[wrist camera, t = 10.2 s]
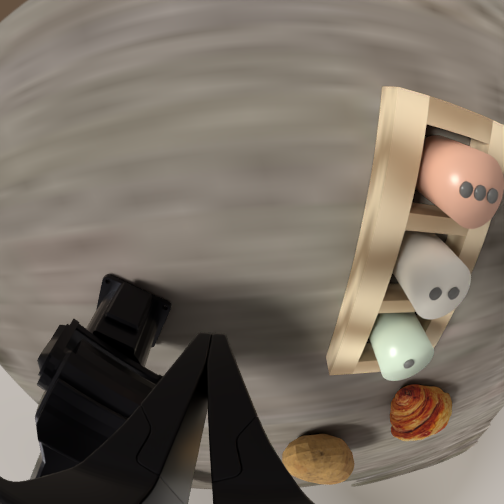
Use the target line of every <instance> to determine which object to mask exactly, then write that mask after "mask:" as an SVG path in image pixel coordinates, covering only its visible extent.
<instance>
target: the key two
mask: <svg viewBox="0 0 504 504" xmlns="http://www.w3.org/2000/svg"><path fill="white" fill-rule="evenodd" d="M392 273H393V274H394V276H395V277H396V279H397V281H398V282H399V284H400V285H401V287H402V289H403V290H404V292H405V294H406V295H407V297H408V299H409V300H410V302H411V304H412V305H413V307H414V309H415V311H416V312H417V314H418V315H419V316H420V317H422V318H424V319H437V318H440V317H443V316H445V315H447V314H448V313H450V312H451V311H453V310H454V309H455V308H456V307H457V306H458V305H459V304H460V303H461V302H462V300H463V299H464V297H465V296H466V294H467V292H468V290H469V287H470V283H471V274H470V271H469V269H468V268H467V266H466V265H465V264H464V263H463V262H462V261H461V260H460V259H459V258H458V257H457V256H456V254H455V253H454V252H453V251H452V250H451V249H450V248H449V247H448V246H447V245H446V244H445V243H444V242H443V241H442V240H441V239H440V238H439V237H438V236H437V235H436V234H435V233H430V232H419V231H408V230H406V231H405V232H404V235H403V239H402V242H401V246H400V249H399V253H398V256H397V259H396V262H395V266H394V269H393V272H392Z"/></svg>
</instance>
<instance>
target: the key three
mask: <svg viewBox="0 0 504 504" xmlns="http://www.w3.org/2000/svg"><path fill="white" fill-rule="evenodd" d="M415 189H416V190H417V191H418V192H419V193H420V194H422V195H423V196H424V197H426V198H427V199H428V200H429V201H431V202H432V203H433V204H435V205H436V206H437V207H438V208H440V209H441V210H442V211H443V212H445V213H446V214H447V215H448V216H449V217H451V218H452V219H453V220H454V221H455V222H457V223H458V224H459V225H460V226H462V227H464V228H467V229H475V228H478V227H481V226H483V225H484V224H486V223H487V222H488V221H489V220H490V219H491V218H492V217H493V216H494V214H495V213H496V211H497V209H498V207H499V205H500V203H501V200H502V196H503V190H504V178H503V173H502V169H501V167H500V165H499V163H498V162H497V160H496V159H495V158H494V157H492V156H491V155H489V154H487V153H484V152H482V151H480V150H477V149H475V148H472V147H470V146H467V145H465V144H462V143H460V142H457V141H454V140H452V139H449V138H446V137H444V136H440V135H433V136H429V137H427V138H425V139H424V144H423V150H422V156H421V161H420V167H419V172H418V177H417V182H416V187H415Z"/></svg>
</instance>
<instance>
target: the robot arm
mask: <svg viewBox="0 0 504 504" xmlns="http://www.w3.org/2000/svg"><path fill="white" fill-rule="evenodd" d="M107 279H108V280H109V281H108V280H107ZM164 305H165V306H167V307H165V306H164ZM170 309H171V303H170V302H169V301H167V300H164V299H162V298H160V297H157V296H155V295H153V294H151V293H148V292H146V291H144V290H142V289H140V288H137V287H135V286H133V285H131V284H129V283H126V282H124V281H122V280H120V279H118V278H116V277H114V276H112V275H109V274H107V275H105V276H104V278H103V280H102V285H101V290H100V295H99V300H98V305H97V310H96V312H95V314H94V316H93V317H92V319H91V321H90V323H89V325H88V326H87V328H84V327H83V326H81V325H80V324H79V322H78V321H77V320H75V319H73V321H72V322H71V324H70V325H68V324H67V325H59V327H58V329H57V330H56V332H55V334H54V335H53V337H52V338H51V340H50V341H49V343H48V344H47V346H46V347H45V348H44V350H43V351H42V353H41V354H40V356H39V358H38V360H37V361H38V365H39V368H40V372H39V374H38V375H39V376H40V379H39V381H38V383H37V385H38V386H39V387H41V388H42V389H43V390H45V392H44V394H43V396H42V398H41V400H40V402H39V405H38V408H37V412H36V415H35V420H36V427H37V435H38V441H39V444H40V450H41V453H40V455H39V458H38V460H37V463H36V465H35V468H34V470H33V473H32V475H31V478H30V480H27V481H21V482H12V481H8V480H5V479H3V478H2V477H0V504H188V500H189V496H190V491H191V486H192V481H193V476H194V471H195V466H196V462H197V457H198V452H199V447H200V442H201V438H202V433H203V428H204V423H205V419H206V414H207V409H208V424H209V445H210V462H211V477H212V491H213V504H315V503H313V502H312V501H311V500H310V499H309V498H308V497H307V496H306V495H305V494H304V492H303V491H302V490H301V489H300V487H299V486H298V485H297V483H296V482H295V480H294V479H293V477H292V476H291V475H290V473H289V472H288V470H287V469H286V467H285V466H284V464H283V463H282V461H281V459H280V458H279V456H278V455H277V453H276V452H275V450H274V448H273V446H272V445H271V443H270V441H269V439H268V437H267V435H266V433H265V431H264V429H263V427H262V424H261V422H260V420H259V417H257V413H256V410H255V408H254V406H253V403H252V401H251V398H250V396H249V393H248V391H247V388H246V386H245V383H244V381H243V378H242V376H241V373H240V371H239V368H238V365H237V363H236V360H235V358H234V355H233V352H232V350H231V347H230V344H229V342H228V339H227V336H226V335H225V334H222V333H213V335H212V334H211V333H206V332H200V333H198V334H197V336H196V337H195V338H194V339H193V340H192V342H191V343H190V344H189V345H188V347H187V348H186V349H185V350H184V352H183V353H182V354H181V355H180V357H179V358H178V359H177V360H176V361H175V363H174V364H173V365H172V366H171V368H170V369H169V370H168V371H167V372H166V374H165V375H164V376H161V375H157V374H155V373H154V372H152V371H150V370H149V369H147V368H145V364H146V361H147V358H148V355H149V352H150V349H151V347H154V346H155V343H156V341H157V339H158V336H159V334H160V332H161V330H162V327H163V325H164V323H165V320H166V318H167V316H168V314H169V312H170Z"/></svg>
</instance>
